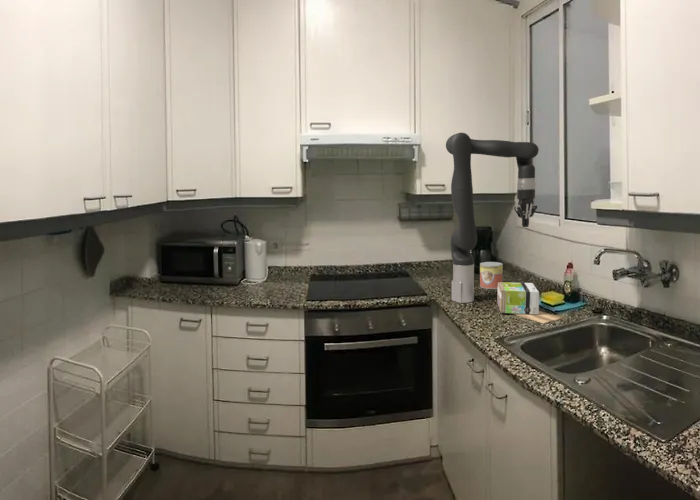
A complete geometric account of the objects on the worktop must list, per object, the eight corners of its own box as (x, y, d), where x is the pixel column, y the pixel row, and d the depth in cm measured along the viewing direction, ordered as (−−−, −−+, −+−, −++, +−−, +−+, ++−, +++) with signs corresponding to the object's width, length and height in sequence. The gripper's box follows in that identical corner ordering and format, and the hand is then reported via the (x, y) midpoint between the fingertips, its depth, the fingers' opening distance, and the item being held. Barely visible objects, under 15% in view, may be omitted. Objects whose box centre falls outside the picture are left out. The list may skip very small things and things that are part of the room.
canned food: (476, 287, 222) (476, 264, 221) (484, 283, 231) (484, 261, 229) (498, 290, 215) (498, 266, 214) (505, 285, 224) (505, 262, 222)
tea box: (539, 290, 170) (500, 290, 174) (539, 315, 172) (500, 314, 175) (532, 282, 185) (496, 281, 188) (532, 304, 186) (496, 304, 190)
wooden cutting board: (544, 323, 163) (544, 322, 163) (502, 311, 180) (502, 310, 180) (563, 318, 168) (563, 317, 168) (521, 306, 185) (521, 305, 185)
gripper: (529, 188, 199) (528, 225, 202) (509, 189, 193) (508, 227, 196) (543, 187, 193) (542, 226, 195) (522, 189, 187) (522, 228, 189)
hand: (525, 226), depth 196 cm, fingers closed
